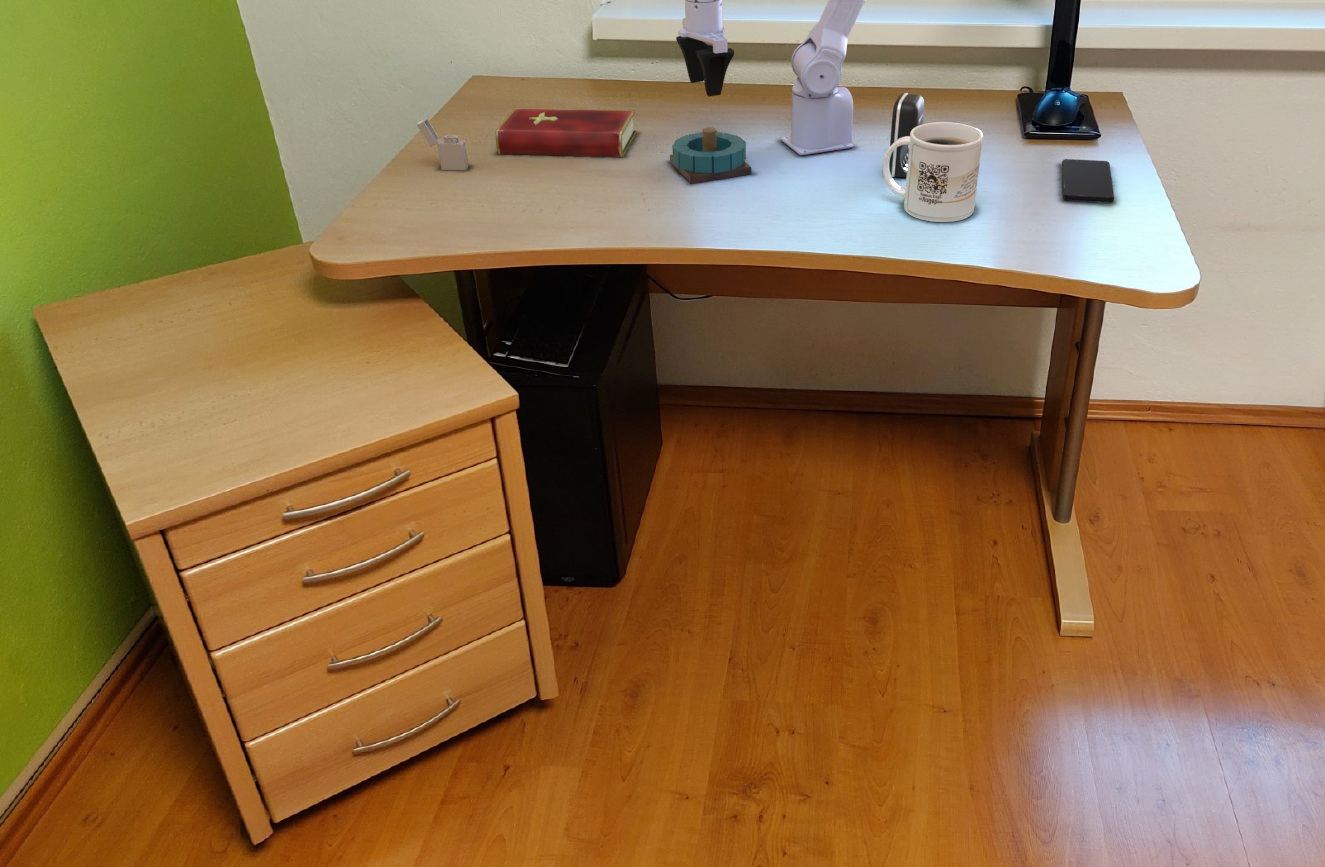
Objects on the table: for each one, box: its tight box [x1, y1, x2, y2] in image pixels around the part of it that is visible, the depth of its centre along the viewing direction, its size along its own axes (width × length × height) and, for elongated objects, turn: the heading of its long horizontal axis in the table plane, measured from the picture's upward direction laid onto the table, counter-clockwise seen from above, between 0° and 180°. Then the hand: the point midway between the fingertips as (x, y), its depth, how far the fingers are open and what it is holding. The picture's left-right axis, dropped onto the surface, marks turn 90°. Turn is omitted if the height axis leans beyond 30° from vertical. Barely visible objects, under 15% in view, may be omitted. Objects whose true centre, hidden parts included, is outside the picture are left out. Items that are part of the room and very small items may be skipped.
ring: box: [671, 131, 747, 173], centre depth 177 cm, size 11×11×3 cm
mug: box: [881, 121, 984, 223], centre depth 160 cm, size 10×12×11 cm
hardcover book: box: [494, 107, 637, 158], centre depth 189 cm, size 12×21×4 cm, turn 80°
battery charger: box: [889, 92, 925, 178], centre depth 171 cm, size 7×4×11 cm, turn 159°
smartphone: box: [1061, 158, 1115, 203], centre depth 167 cm, size 7×1×15 cm
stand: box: [669, 127, 752, 185], centre depth 177 cm, size 10×10×6 cm
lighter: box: [416, 117, 469, 171], centre depth 180 cm, size 7×2×8 cm, turn 81°
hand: (705, 88), depth 179 cm, fingers open, 7 cm apart
